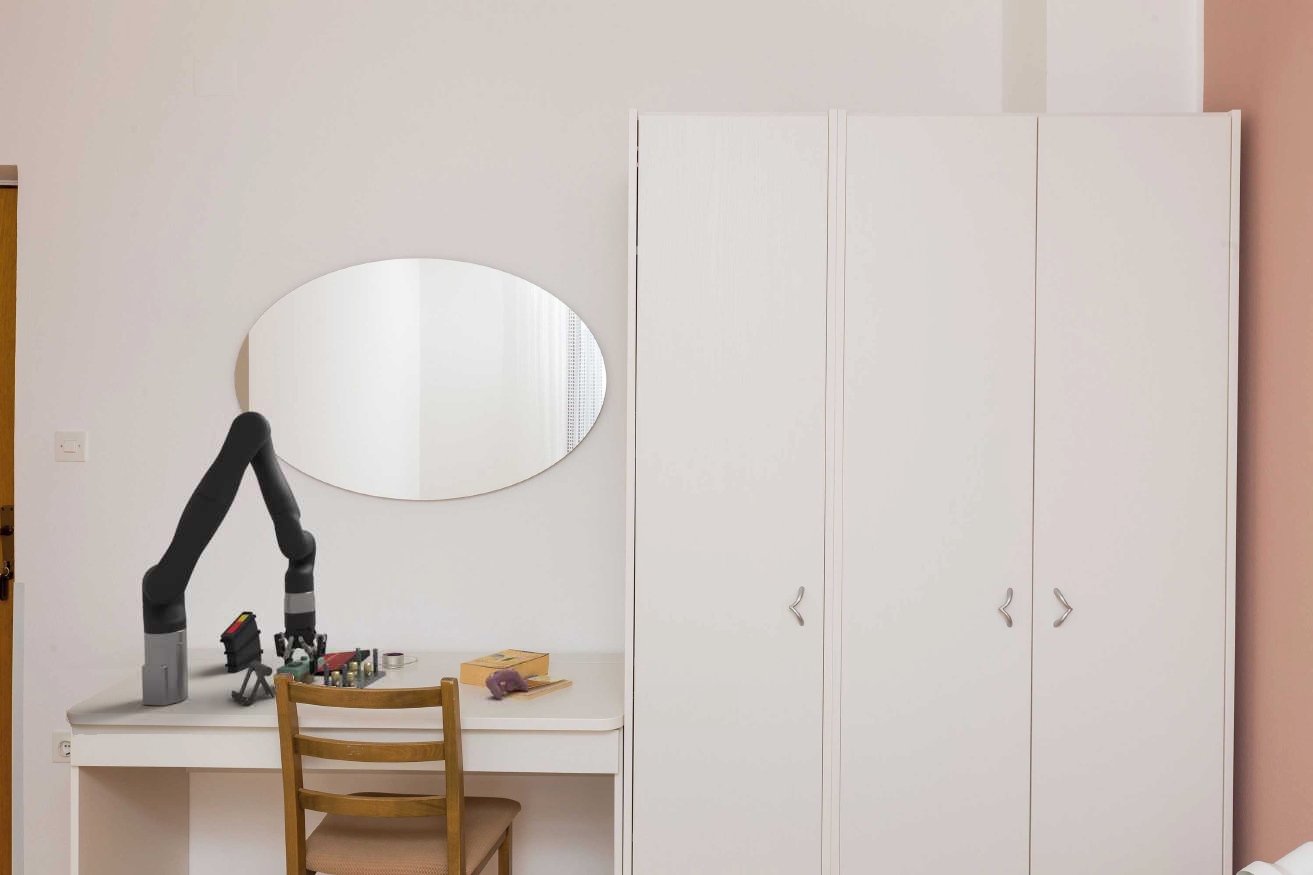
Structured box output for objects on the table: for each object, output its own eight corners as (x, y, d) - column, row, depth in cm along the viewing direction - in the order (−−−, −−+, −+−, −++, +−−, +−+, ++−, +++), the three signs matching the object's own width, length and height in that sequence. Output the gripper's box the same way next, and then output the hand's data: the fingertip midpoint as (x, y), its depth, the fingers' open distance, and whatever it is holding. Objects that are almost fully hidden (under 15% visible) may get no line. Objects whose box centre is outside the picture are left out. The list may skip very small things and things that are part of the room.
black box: (270, 653, 263) (254, 610, 256) (243, 685, 251) (226, 641, 245) (258, 652, 263) (242, 610, 257) (231, 684, 252) (214, 641, 245)
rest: (296, 689, 233) (296, 673, 233) (288, 688, 233) (287, 673, 233) (314, 680, 241) (314, 664, 241) (306, 679, 241) (305, 664, 241)
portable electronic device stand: (231, 699, 225) (230, 665, 225) (263, 692, 231) (262, 659, 231) (244, 707, 219) (244, 672, 219) (278, 699, 225) (277, 665, 224)
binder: (370, 648, 266) (346, 668, 245) (370, 656, 266) (347, 677, 245) (314, 652, 265) (286, 672, 244) (314, 660, 266) (287, 681, 245)
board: (298, 675, 230) (298, 666, 230) (276, 674, 232) (276, 665, 232) (324, 663, 242) (324, 654, 242) (303, 662, 243) (303, 653, 243)
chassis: (352, 693, 228) (352, 665, 228) (316, 691, 230) (315, 664, 230) (385, 674, 245) (385, 648, 245) (351, 673, 247) (350, 647, 247)
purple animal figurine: (519, 694, 231) (510, 667, 233) (530, 689, 229) (521, 662, 231) (488, 704, 224) (480, 676, 226) (500, 698, 221) (490, 670, 223)
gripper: (265, 611, 234) (267, 676, 235) (317, 612, 232) (318, 678, 232) (283, 605, 242) (284, 668, 242) (333, 606, 239) (334, 670, 239)
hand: (301, 673), depth 237 cm, fingers closed on board, 6 cm apart
